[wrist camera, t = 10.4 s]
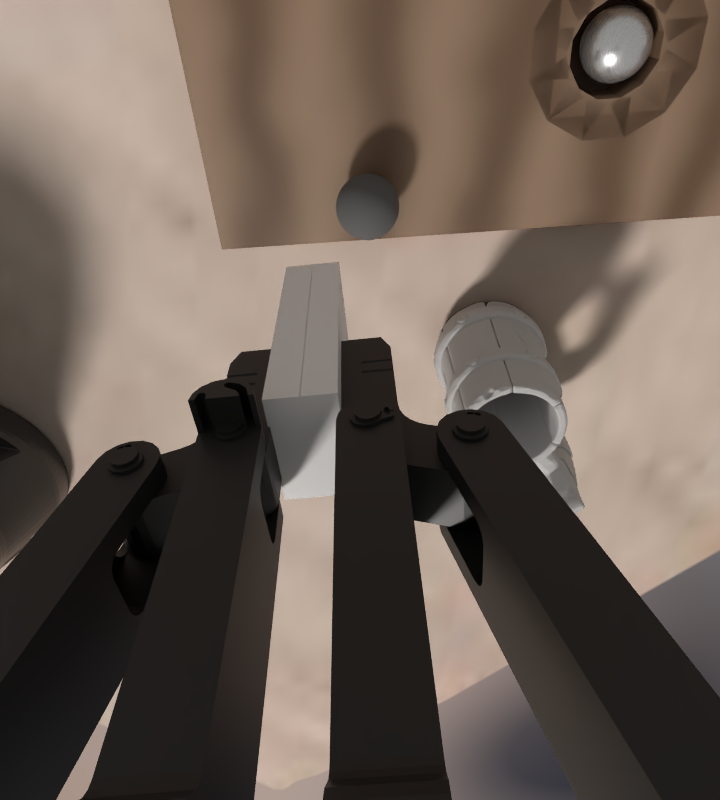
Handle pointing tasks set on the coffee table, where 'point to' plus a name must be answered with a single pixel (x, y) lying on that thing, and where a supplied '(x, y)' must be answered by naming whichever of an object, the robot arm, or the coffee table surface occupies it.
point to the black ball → (367, 206)
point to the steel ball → (616, 43)
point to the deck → (445, 115)
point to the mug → (509, 384)
